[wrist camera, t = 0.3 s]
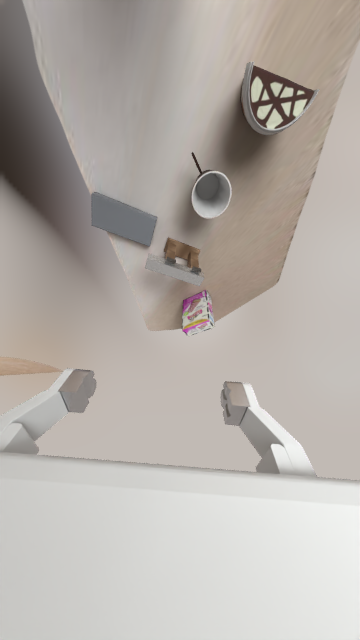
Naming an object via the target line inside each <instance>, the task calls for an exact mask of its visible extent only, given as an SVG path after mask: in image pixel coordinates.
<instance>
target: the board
mask: <svg viewBox="0 0 360 640" xmlns="http://www.w3.org/2000/svg"><path fill="white" fill-rule="evenodd" d="M156 220H157V217H155V216H153V215H150V214H148V213H145V212H143V211H141V210H138V209H136V208H133V207H131V206H128V205H126V204H124V203H121V202H119V201H116V200H114V199H111V198H109V197H107V196H104V195H102V194H99V193H97V192H94V193H92V226H95V227H97V228H100V229H103V230H106V231H108V232H111V233H114V234H117V235H119V236H122V237H125V238H128V239H130V240H133V241H136V242H139V243H141V244H144V245H147V246H150V244H151V240H152V236H153V232H154V228H155V224H156Z"/></svg>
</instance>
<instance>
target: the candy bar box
mask: <svg viewBox="0 0 360 640" xmlns="http://www.w3.org/2000/svg"><path fill="white" fill-rule="evenodd" d="M214 327H215V326H214V318H213V310H212V302H211V297H210V295H209V294H208V292H207V291H206V290H205V291H203V292H201V293H198V294H196V295H194V296H192V297H190V298H188V299H185V300H183V316H182V330H183V332H185V333H186V334H187V336H190V335H194V334H196V333H199V332H202V331H205V330H208V329H211V328H214Z"/></svg>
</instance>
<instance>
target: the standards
mask: <svg viewBox="0 0 360 640" xmlns="http://www.w3.org/2000/svg"><path fill="white" fill-rule="evenodd" d="M164 252H166V254H165V259H166V261H169V262H172V263H176V260H175V256H178V257H181V258H184V259H186V260H188V267H189V268H192V270H195V271H197V272H200V273H201V269H200V268H199V263H198V254H199V252H200V250H199V249H197V248H194V247H191V246H189V245H186V244H184V243H181V242H179V241H176V240H173V239H171V238H168V240H167V243H166V246H165V249H164Z"/></svg>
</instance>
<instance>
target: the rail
mask: <svg viewBox="0 0 360 640" xmlns="http://www.w3.org/2000/svg"><path fill="white" fill-rule="evenodd" d="M145 268H146V269H149V270H152V271H155V272H158V273H161V274H164V275H167V276H170V277H173V278H176V279H179V280H182V281H185V282H188V283H191V284H194V285H197V286H200V285H201V283H202V281H203V279H204V273H203V272H201V273H200V272H197V271H195V270H192V268H189V267H186V266H183V265H180V264H177V263H172V262H169V261H166V259H163V258H161V257H158V256H155V255H152V254H149V255H148V258H147V262H146V266H145Z"/></svg>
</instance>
